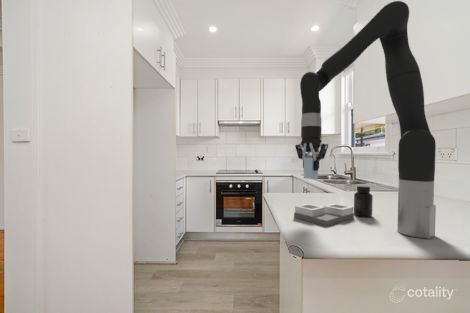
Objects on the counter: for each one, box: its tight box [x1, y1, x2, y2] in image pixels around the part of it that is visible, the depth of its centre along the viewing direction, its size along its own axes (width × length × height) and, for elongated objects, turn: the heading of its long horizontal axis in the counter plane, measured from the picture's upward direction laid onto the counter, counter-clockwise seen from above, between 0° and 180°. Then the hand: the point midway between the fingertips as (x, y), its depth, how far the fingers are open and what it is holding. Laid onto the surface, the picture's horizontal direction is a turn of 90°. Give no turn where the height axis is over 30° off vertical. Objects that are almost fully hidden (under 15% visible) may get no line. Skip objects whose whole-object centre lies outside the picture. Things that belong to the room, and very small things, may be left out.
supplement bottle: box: [353, 185, 374, 218], centre depth 103 cm, size 7×7×12 cm
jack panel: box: [293, 203, 355, 227], centre depth 98 cm, size 14×19×4 cm
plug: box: [303, 154, 319, 180], centre depth 97 cm, size 4×4×9 cm
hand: (310, 170), depth 97 cm, fingers closed on plug, 3 cm apart
